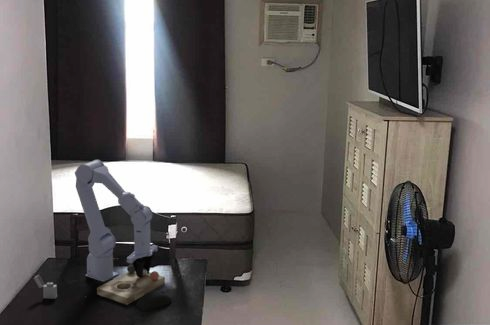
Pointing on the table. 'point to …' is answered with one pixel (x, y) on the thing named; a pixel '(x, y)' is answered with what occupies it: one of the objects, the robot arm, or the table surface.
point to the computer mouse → (153, 300)
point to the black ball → (130, 269)
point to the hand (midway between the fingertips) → (142, 274)
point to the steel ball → (144, 272)
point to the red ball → (154, 275)
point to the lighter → (47, 288)
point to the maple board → (129, 287)
